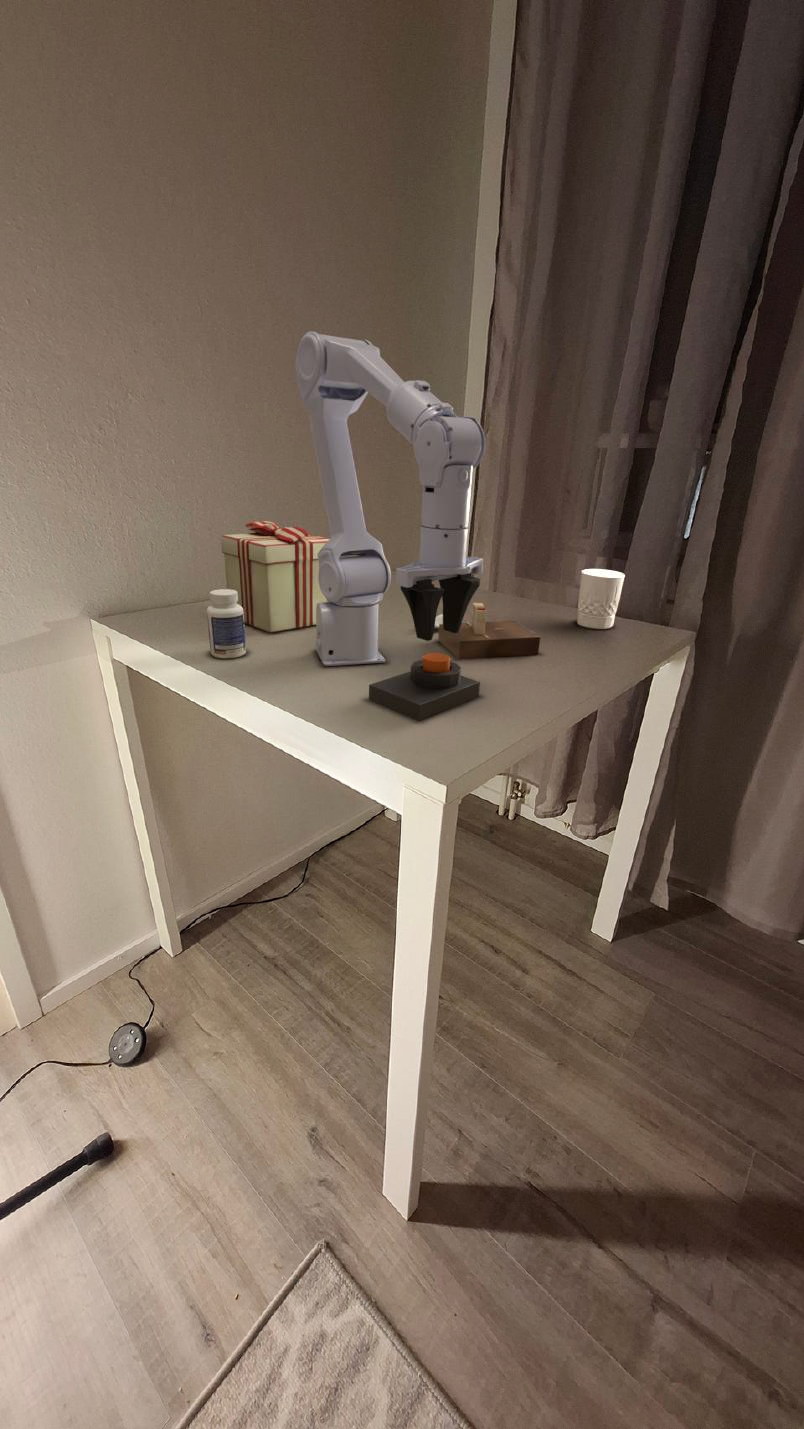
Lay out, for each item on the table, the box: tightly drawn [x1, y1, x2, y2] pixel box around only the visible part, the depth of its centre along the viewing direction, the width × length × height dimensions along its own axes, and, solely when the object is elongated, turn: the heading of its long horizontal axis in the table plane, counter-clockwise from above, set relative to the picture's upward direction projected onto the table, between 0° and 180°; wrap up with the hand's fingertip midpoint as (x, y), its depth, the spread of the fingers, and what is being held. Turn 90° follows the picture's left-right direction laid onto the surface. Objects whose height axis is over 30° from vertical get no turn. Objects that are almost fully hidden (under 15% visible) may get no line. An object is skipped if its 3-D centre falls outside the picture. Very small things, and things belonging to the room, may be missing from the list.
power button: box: [422, 652, 451, 673], centre depth 81 cm, size 4×4×2 cm
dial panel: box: [437, 620, 541, 660], centre depth 103 cm, size 14×10×3 cm
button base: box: [368, 659, 481, 722], centre depth 81 cm, size 12×9×4 cm
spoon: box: [434, 613, 443, 630], centre depth 119 cm, size 4×21×2 cm, turn 161°
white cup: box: [576, 568, 626, 630], centre depth 118 cm, size 8×8×10 cm
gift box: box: [220, 520, 330, 633], centre depth 113 cm, size 17×18×17 cm
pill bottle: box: [206, 588, 247, 659], centre depth 94 cm, size 5×5×10 cm
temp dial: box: [470, 602, 488, 635], centre depth 101 cm, size 5×2×4 cm, turn 1°
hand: (437, 635), depth 80 cm, fingers open, 5 cm apart
